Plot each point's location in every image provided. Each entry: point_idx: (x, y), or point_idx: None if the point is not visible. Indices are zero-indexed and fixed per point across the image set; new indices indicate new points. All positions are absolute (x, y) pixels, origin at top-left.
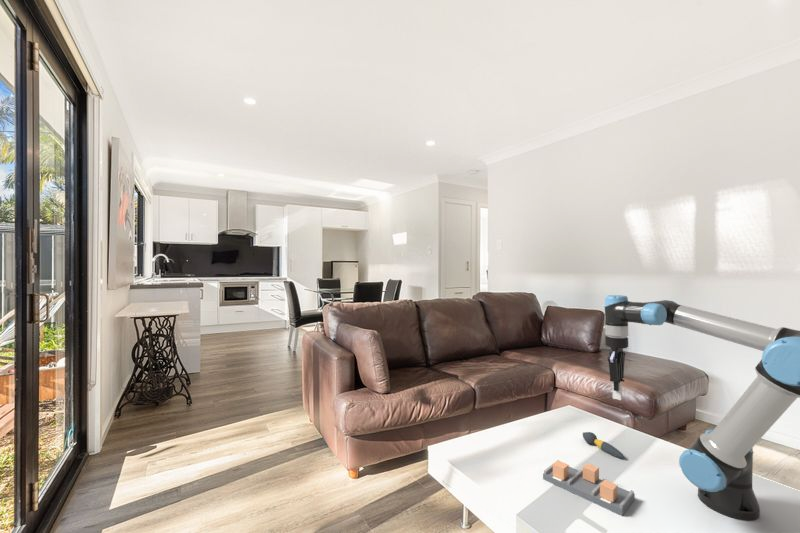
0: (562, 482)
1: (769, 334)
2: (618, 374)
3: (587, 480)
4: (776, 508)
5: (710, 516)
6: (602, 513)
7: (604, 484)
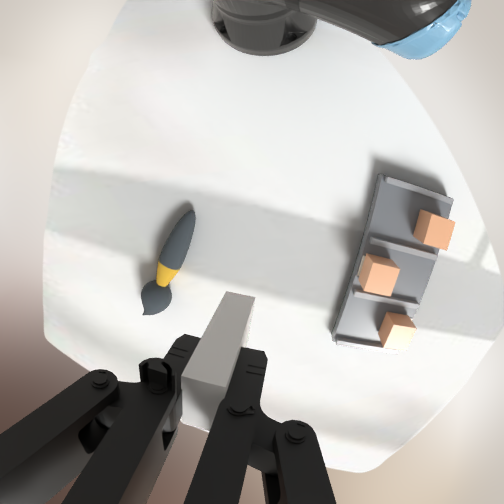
0: (414, 314)
1: None
2: (240, 485)
3: None
4: None
5: (340, 42)
6: (455, 230)
7: (443, 241)
